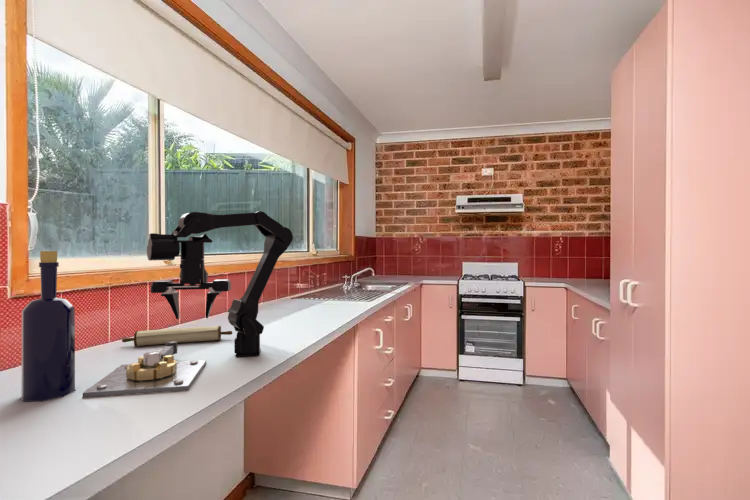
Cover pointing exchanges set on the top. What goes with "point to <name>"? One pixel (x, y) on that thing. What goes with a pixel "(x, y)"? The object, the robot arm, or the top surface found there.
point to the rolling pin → (177, 335)
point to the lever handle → (162, 368)
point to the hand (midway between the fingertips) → (192, 318)
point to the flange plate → (122, 385)
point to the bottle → (48, 340)
